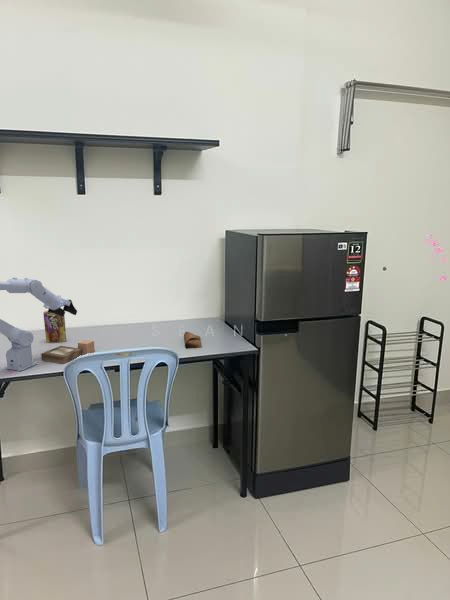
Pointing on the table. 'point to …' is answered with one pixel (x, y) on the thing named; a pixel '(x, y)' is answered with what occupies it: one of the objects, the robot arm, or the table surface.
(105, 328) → the table surface
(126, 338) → the table surface
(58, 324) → the candy box
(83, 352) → the cube
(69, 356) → the plinth
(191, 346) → the sunglasses case
